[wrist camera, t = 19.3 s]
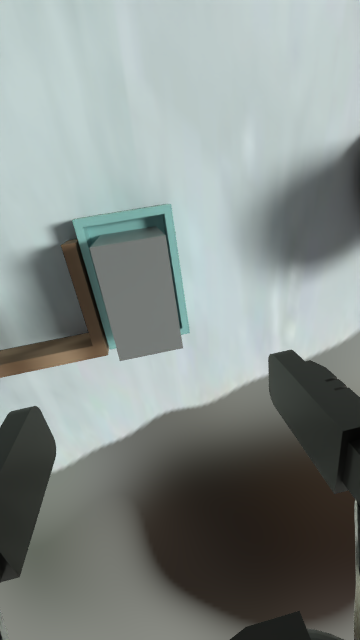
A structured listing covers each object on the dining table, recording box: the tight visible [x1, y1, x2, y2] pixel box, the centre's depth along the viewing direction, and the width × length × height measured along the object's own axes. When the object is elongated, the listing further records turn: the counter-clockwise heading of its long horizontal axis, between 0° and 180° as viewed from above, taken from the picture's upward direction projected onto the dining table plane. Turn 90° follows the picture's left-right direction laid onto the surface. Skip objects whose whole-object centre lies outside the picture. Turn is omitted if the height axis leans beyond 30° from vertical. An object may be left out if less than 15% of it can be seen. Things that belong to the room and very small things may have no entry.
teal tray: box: [72, 204, 190, 349], centre depth 24 cm, size 7×11×2 cm
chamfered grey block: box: [90, 226, 183, 361], centre depth 21 cm, size 5×8×7 cm, turn 8°
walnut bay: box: [0, 239, 109, 378], centre depth 23 cm, size 14×10×3 cm
